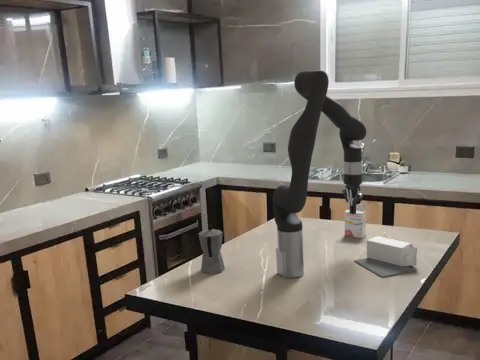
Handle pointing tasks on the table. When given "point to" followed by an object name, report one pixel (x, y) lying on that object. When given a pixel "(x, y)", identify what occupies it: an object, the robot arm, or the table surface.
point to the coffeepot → (211, 251)
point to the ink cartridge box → (356, 222)
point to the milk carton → (392, 251)
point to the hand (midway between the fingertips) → (352, 213)
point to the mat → (383, 267)
